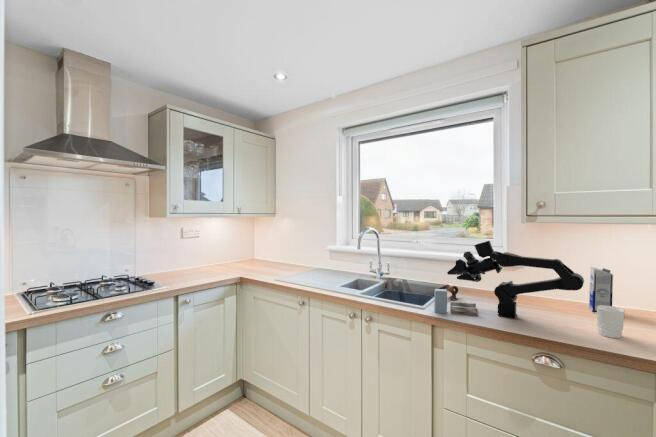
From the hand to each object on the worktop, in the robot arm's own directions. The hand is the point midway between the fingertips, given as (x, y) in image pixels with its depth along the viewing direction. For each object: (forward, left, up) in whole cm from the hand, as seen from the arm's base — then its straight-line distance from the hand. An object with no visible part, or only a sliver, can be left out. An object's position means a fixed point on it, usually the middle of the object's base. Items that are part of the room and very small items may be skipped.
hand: (452, 275), depth 158 cm
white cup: (-58, +1, -15) cm, 60 cm away
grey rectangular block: (+1, +14, -14) cm, 20 cm away
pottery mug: (+5, -11, -15) cm, 19 cm away
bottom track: (-7, +7, -14) cm, 17 cm away
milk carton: (-56, -32, -14) cm, 66 cm away
